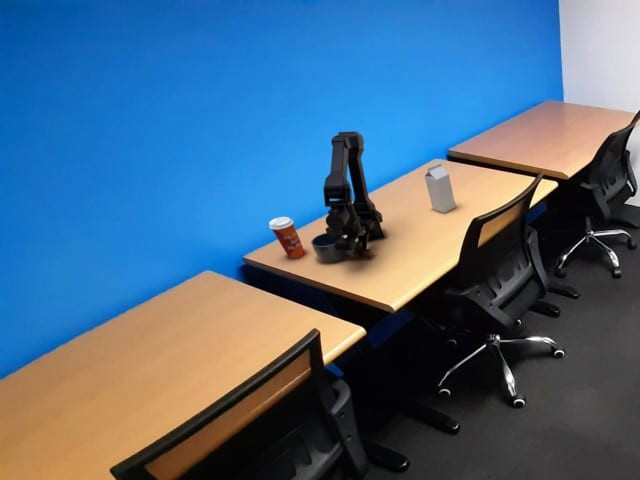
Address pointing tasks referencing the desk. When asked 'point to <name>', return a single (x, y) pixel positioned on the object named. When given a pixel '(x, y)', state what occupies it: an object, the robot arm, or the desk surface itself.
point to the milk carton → (440, 188)
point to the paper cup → (287, 236)
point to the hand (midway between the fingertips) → (362, 254)
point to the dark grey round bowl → (328, 248)
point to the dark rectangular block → (366, 254)
